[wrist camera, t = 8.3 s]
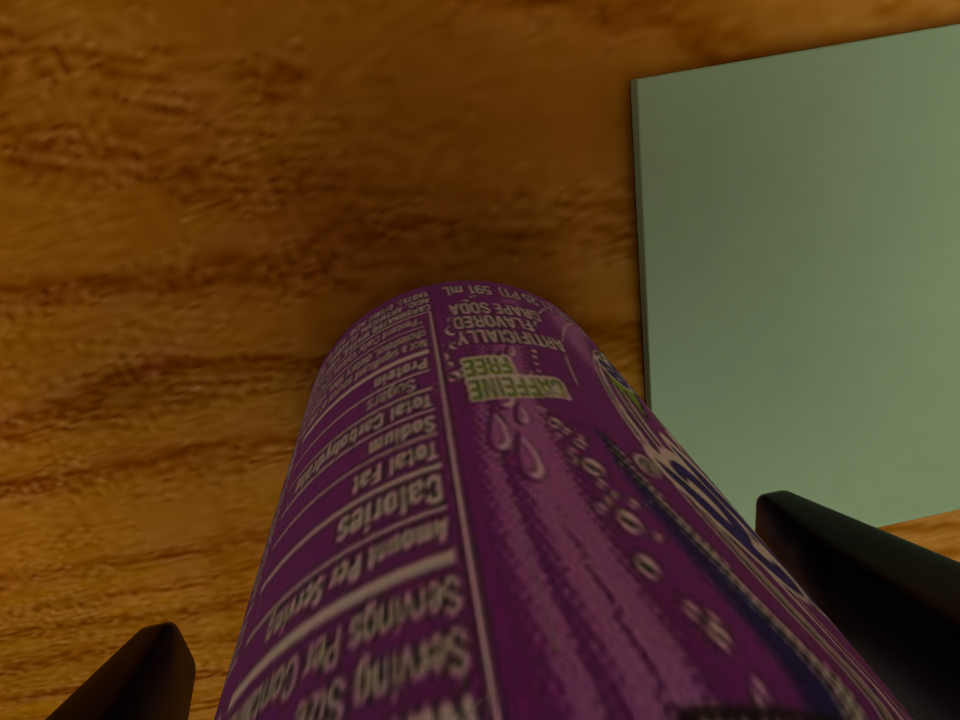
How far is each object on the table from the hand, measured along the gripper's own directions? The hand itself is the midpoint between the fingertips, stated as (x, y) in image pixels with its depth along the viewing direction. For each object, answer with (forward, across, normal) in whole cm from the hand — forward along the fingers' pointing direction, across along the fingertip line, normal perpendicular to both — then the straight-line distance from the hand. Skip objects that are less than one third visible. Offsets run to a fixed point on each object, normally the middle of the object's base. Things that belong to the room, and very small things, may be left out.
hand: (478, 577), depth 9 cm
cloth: (+6, -11, 0) cm, 12 cm away
